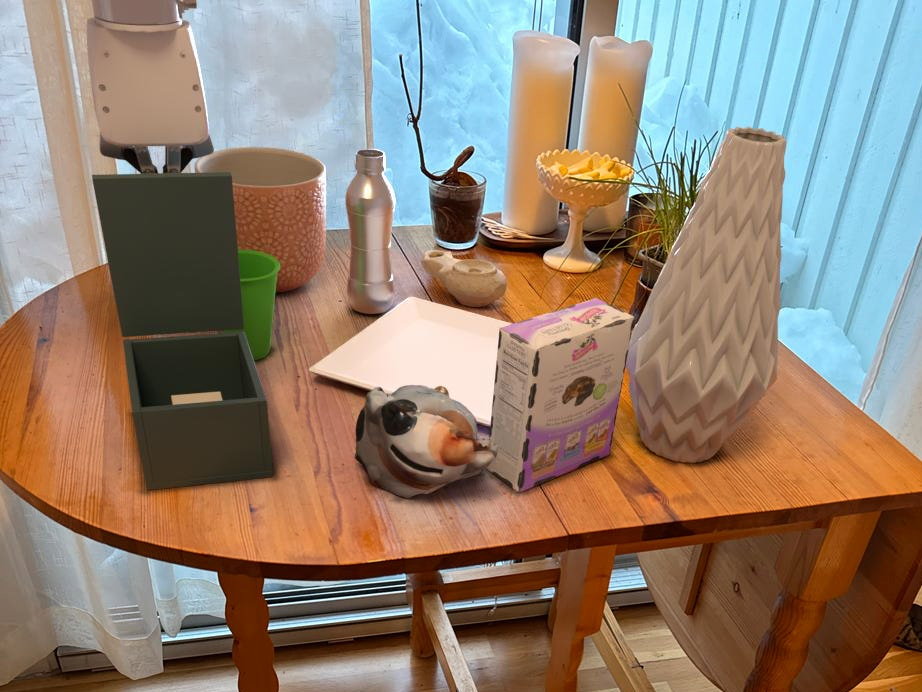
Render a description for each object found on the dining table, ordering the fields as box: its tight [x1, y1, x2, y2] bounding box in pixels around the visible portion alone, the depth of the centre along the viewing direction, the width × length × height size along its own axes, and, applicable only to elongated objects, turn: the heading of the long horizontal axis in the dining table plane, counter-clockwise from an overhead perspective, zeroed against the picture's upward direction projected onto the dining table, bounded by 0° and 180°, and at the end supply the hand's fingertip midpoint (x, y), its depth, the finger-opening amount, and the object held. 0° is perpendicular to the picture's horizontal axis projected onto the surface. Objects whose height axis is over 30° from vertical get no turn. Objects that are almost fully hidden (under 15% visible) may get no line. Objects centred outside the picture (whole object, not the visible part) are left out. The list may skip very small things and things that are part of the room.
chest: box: [122, 332, 274, 491], centre depth 99 cm, size 16×13×9 cm
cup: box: [221, 250, 280, 361], centre depth 115 cm, size 9×9×11 cm
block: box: [171, 392, 223, 405], centre depth 99 cm, size 5×5×5 cm
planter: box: [194, 146, 327, 294], centre depth 131 cm, size 17×17×15 cm
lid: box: [91, 172, 244, 338], centre depth 97 cm, size 16×13×5 cm
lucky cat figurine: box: [354, 385, 498, 499], centre depth 96 cm, size 15×12×14 cm
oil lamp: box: [421, 249, 508, 308], centre depth 135 cm, size 11×14×5 cm
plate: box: [308, 296, 513, 428], centre depth 119 cm, size 26×26×2 cm
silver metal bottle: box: [344, 148, 396, 315], centre depth 124 cm, size 6×7×20 cm
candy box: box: [485, 297, 635, 493], centre depth 99 cm, size 14×6×16 cm, turn 130°
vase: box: [625, 126, 787, 464], centre depth 99 cm, size 17×17×33 cm
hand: (167, 216), depth 97 cm, fingers closed
